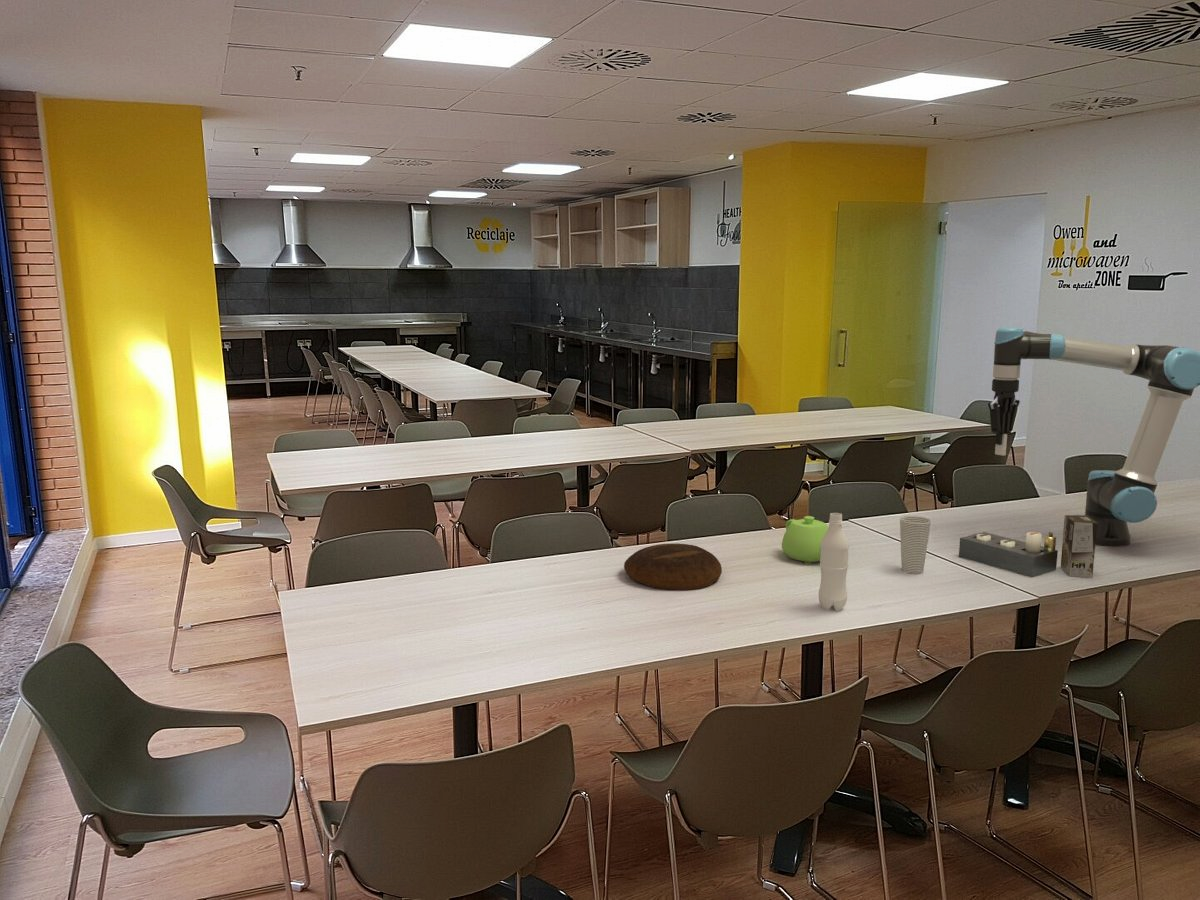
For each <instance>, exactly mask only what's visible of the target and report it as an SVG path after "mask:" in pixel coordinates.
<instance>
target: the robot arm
mask: <svg viewBox="0 0 1200 900" xmlns="http://www.w3.org/2000/svg"><path fill="white" fill-rule="evenodd" d="M1023 329H1024V328H1021V327H999V328H997V330H996V332H995V339H994V350H993V351H994V353H993V354H994V355H993V367H992V369H993V370H992V377H993V379H992V381H991V391H992V392H994V395H993V400H992V401H991V402H990V401H988V403H987V406H988V408H989V415H990V416H989V417H990V428H991V433H992V434H995V445H994V446H995V447H994V449H995V450H994V454H995V455H996V456H997V455H998V456H1001V457H1002V456H1007V444H1008V443H1007V442H1008V435H1011V434H1012V431H1013V430H1014V424H1015V421H1016V417H1017V412H1018V407H1019V405H1020V402H1021V401H1020V399H1016V394H1015V393H1018V392H1019V388H1020V380H1019V378H1021V362H1022V360H1050V361H1051V360H1052V361H1059V362H1065V363H1072V364H1076V365H1077V364H1078V365H1085V366H1090V367H1098V368H1105V369H1109V370H1116V371H1121V372H1123V374H1124V375H1128V376H1129V375H1130V376H1135V377H1138V378H1141V379H1145V380H1148V384H1147V386H1146V387H1147V388H1148V390H1149V392H1150V394H1149V397H1148V400H1147V403H1146V405H1145V408H1144V410H1143V414H1142V416H1141V419H1140V422H1139V424H1138V426H1137V428H1136V429H1137V430H1136V432H1135V435H1134V437H1133V440H1132V443H1131V445H1130V447H1129V451H1128V454H1127V456H1126V459H1125V462H1124V464H1123V466H1122V468H1119V470H1108V469H1107V470H1105V469H1104V470H1103V469H1102V470H1099V469H1098V470H1091V471H1089V474H1088V479H1087V486H1086V499H1085V500H1086V501H1085V510H1084V515H1085V516H1088V517H1090V518H1091V519H1093V520H1094V521H1096V522H1097V523H1098V525H1097V535H1096V545H1098V546H1104V547H1106V546H1107V547H1124V546H1128V545H1130V543H1131V533H1130V530H1129V525H1128V523H1140V522H1143V521H1145V520H1147V519H1149V518H1150V517H1152V516H1153V514H1154V513H1155V511H1156V510H1157V507H1158V499H1157V498H1156V497H1157V496H1156V494H1155V491H1156V489H1157V487H1158V482H1157V480H1156V478H1155V477H1156V476H1155V475H1156V473H1157V470H1158V467H1159V464H1160V462H1161V459H1162V457H1163V455H1164V452H1165V449H1166V447H1167V444H1168V442H1169V438H1170V437H1171V434H1172V431H1173V429H1174V426H1175V423H1176V420H1177V418H1178V415H1179V413H1180V410H1181V407H1182V405H1183V402H1184V401H1186V400H1188V399H1190V398H1192V396H1193V392H1194V390H1195V388H1197V387H1199V386H1200V352H1199V351H1197V350H1195V349H1192V348H1189V347H1185V346H1173V345H1164V344H1163V345H1150V344H1149V345H1147V344H1146V345H1145V344H1137V343H1136V344H1135V343H1132V344H1130V345H1121V344H1115V343H1107V342H1100V341H1092V340H1087V339H1079V338H1074V337H1073V338H1071V337H1065V336H1064V335H1062V334H1060V333H1059V334H1057V333H1039V332H1032V331H1025V330H1023ZM1096 545H1095V546H1096Z"/></svg>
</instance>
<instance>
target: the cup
mask: <svg viewBox="0 0 1200 900" xmlns="http://www.w3.org/2000/svg"><path fill="white" fill-rule="evenodd" d="M931 524H932V520H931V519H930V518H928V517H924V516H917V515H906V516H905V515H904V516H901V517H900V518H899V529H900V531H899V533H900V536H899V537H900V556H901V559H900V561H901V562H900V563H901V571H902V572H904V573H907V574H913V575H918V574H922V573H923V572H924V567H925V564H926V562H925V561H926V558H927V557H926V555H927V549H928V543H929V536H930V530H931Z"/></svg>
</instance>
